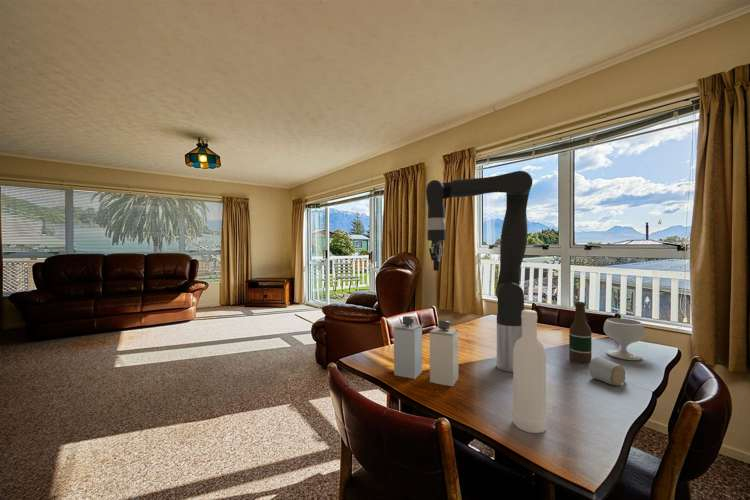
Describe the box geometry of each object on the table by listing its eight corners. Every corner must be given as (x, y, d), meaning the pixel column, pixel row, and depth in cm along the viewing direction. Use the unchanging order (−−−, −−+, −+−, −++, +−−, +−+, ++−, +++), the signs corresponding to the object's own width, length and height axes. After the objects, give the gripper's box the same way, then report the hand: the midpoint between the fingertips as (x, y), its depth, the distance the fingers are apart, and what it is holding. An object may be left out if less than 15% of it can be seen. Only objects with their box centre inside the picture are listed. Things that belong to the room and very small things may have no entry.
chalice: (599, 349, 144) (599, 316, 144) (637, 352, 139) (637, 318, 139) (609, 359, 131) (609, 323, 131) (651, 363, 126) (651, 326, 126)
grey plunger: (418, 355, 120) (418, 316, 120) (413, 360, 114) (412, 319, 114) (403, 353, 122) (403, 314, 122) (397, 358, 117) (397, 318, 117)
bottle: (552, 427, 82) (552, 311, 82) (535, 437, 78) (535, 315, 78) (524, 414, 89) (524, 307, 89) (506, 422, 85) (506, 310, 85)
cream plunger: (454, 361, 113) (454, 320, 113) (450, 367, 108) (450, 323, 108) (438, 358, 116) (438, 318, 116) (433, 364, 111) (433, 321, 111)
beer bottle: (571, 363, 128) (571, 303, 128) (567, 356, 135) (567, 300, 135) (594, 365, 125) (594, 304, 125) (589, 359, 132) (589, 301, 132)
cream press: (458, 377, 114) (458, 329, 114) (452, 386, 107) (452, 334, 107) (436, 373, 118) (436, 326, 117) (429, 382, 111) (429, 331, 110)
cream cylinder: (612, 388, 105) (613, 365, 105) (588, 379, 112) (588, 357, 112) (633, 383, 109) (633, 361, 109) (607, 375, 116) (608, 354, 116)
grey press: (422, 371, 120) (422, 324, 120) (414, 379, 113) (414, 329, 113) (402, 367, 124) (402, 322, 124) (394, 375, 117) (393, 327, 117)
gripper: (440, 228, 126) (441, 272, 126) (449, 229, 138) (449, 269, 138) (422, 228, 129) (422, 271, 129) (432, 230, 141) (432, 269, 141)
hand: (436, 270), depth 134 cm, fingers closed
